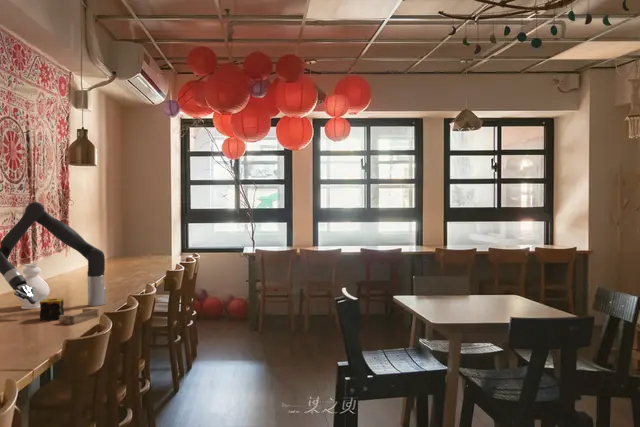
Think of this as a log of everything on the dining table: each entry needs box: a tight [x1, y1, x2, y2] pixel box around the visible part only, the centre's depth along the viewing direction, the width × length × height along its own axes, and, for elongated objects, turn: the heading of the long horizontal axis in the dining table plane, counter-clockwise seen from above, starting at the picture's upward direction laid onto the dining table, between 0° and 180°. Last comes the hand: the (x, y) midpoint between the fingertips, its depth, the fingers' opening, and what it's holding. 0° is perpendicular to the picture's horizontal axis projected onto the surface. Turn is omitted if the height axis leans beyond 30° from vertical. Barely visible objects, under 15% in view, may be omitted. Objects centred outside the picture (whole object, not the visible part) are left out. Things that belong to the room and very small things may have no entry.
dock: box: [58, 307, 100, 325], centre depth 294 cm, size 9×19×4 cm, turn 165°
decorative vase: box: [14, 262, 51, 310], centre depth 332 cm, size 18×18×25 cm
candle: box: [39, 297, 65, 322], centre depth 299 cm, size 10×10×10 cm
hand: (34, 302), depth 301 cm, fingers closed
